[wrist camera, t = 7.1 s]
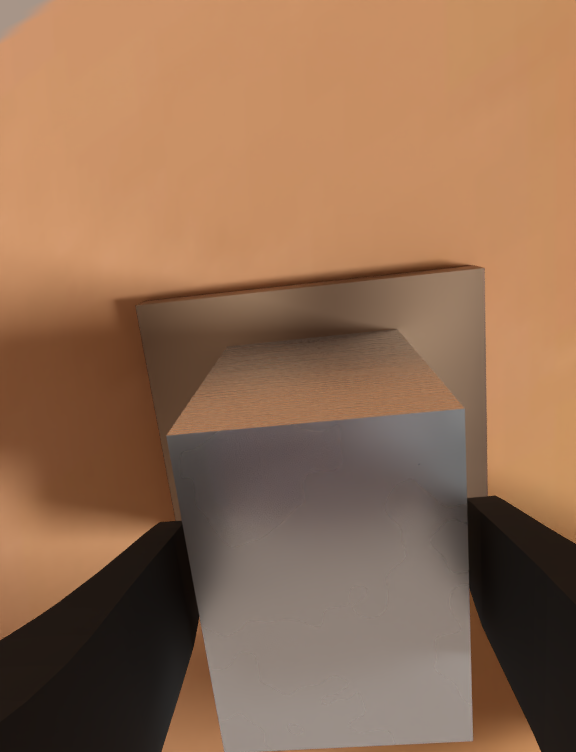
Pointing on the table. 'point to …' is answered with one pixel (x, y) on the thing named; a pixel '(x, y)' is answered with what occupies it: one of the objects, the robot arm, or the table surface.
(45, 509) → the table surface
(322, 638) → the brushed steel brick
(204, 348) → the thin tan panel
